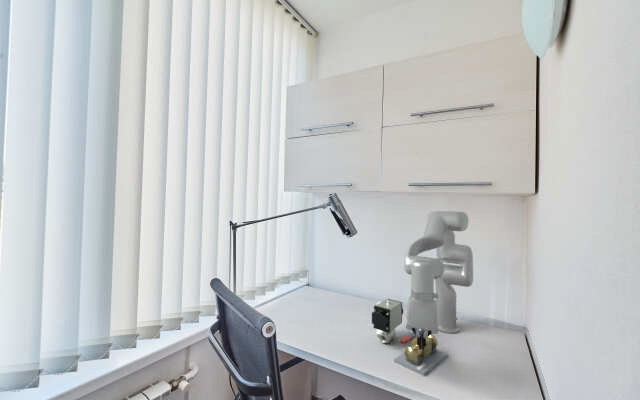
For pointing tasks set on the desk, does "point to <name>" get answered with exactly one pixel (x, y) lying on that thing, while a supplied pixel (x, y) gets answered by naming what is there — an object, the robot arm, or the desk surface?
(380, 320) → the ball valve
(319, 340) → the desk surface
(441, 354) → the base board
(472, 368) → the desk surface
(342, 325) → the desk surface
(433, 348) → the valve pipe
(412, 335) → the lever
